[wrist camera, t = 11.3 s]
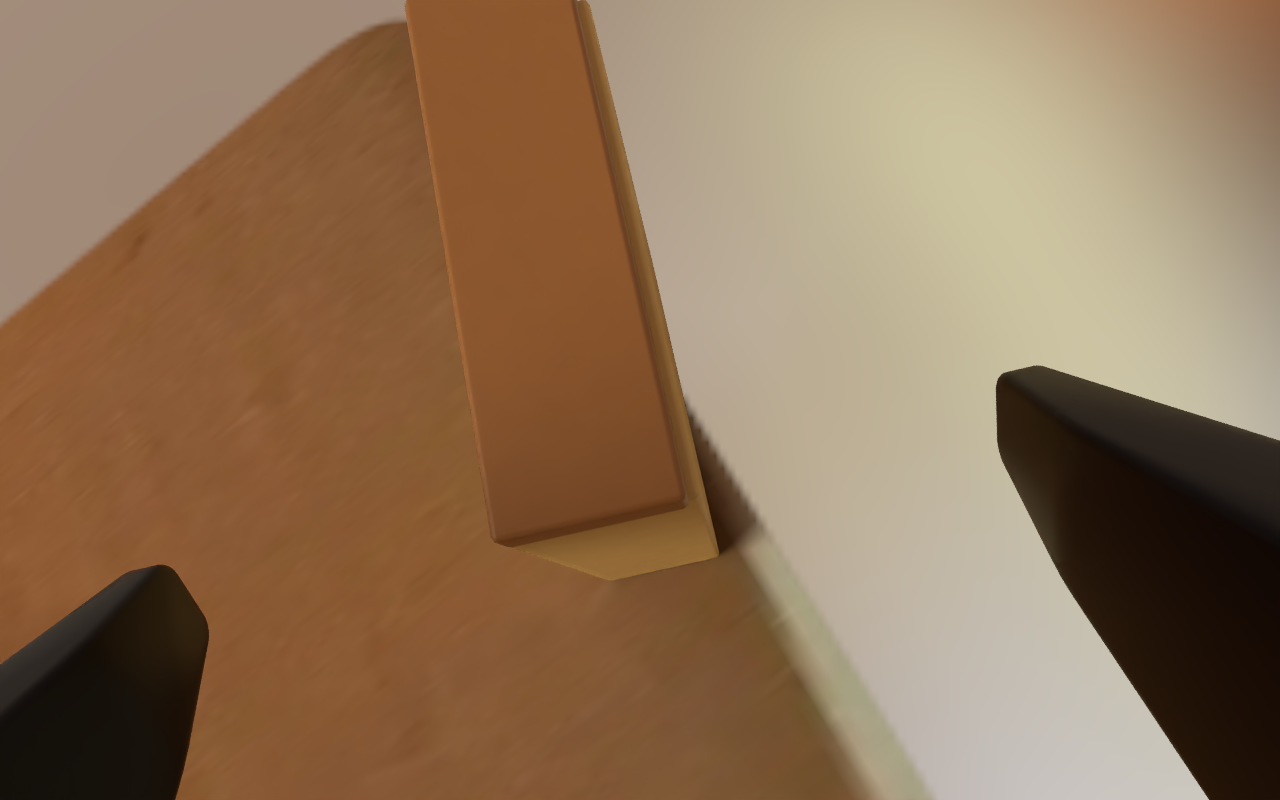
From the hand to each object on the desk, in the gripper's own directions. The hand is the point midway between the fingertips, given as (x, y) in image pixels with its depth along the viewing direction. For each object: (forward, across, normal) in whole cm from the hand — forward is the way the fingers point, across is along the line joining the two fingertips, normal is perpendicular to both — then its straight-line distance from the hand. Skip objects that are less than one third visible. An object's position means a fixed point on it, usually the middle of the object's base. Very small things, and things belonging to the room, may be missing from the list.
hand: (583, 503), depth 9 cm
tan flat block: (+10, 0, +5) cm, 11 cm away
